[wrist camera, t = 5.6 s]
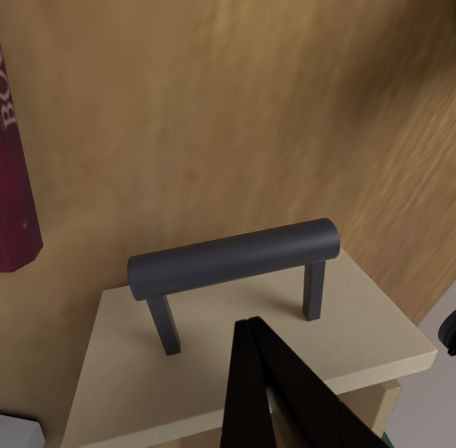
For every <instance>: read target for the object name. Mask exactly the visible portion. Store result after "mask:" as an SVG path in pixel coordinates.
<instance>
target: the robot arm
mask: <svg viewBox="0 0 456 448" xmlns="http://www.w3.org/2000/svg"><path fill="white" fill-rule="evenodd" d="M447 353H448V354H449V355H450V356H456V335H455V337H454V339H453V341H452V343H451V345H450V347H449V349H448V351H447ZM269 406H270V408H271V411H272V414H273V416H274V419H275V421H276V424H277V427H278V429H279V432H280V434H281V437H282V440H283V442H284V445H285V447H286V448H391V447H390V446H389V445H388V444H386V443H385V442H384V441H383V440H382V439H381V438H380V437H379V436H378V435H376V434H375V433H374V432H373V431H372V430H371V429H370V428H369V427H368V426H367V425H366V424H365V423H364V422H363V421H362V420H361V419H360V418H359V417H358V416H356V415H355V414H354V413H353V412H352V411H351V409H350V408H349V407H348V406H347V405H346V404H345V403H344V402H343V401H340V399H339V397H338V396H337V395H336V394H335V393H334V392H333V391H332V390H331V389H330V388H329V387H328V386H327V385H326V384H325V383H324V382H323V381H322V380H321V379H320V378H319V377H318V376H317V375H316V374H315V373H314V371H313V370H312V369H311V368H310V367H309V366H308V365H307V364H306V363H305V362H304V361H303V360H302V359H301V358H300V357H299V356H298V355H297V354H296V353H295V352H294V351H293V350H292V349H291V348H290V347H289V346H288V345H287V344H286V343H285V342H284V341H283V340H282V338H281V337H280V336H279V335H278V334H277V333H276V332H275V331H274V330H273V329H272V328H271V327H270V326H269V325H268V324H267V323H266V322H265V321H264V320H263V319H262V318H261V317H260V316H254V317H250V318H248V319H241V320H237V321H235V324H234V332H233V341H232V349H231V357H230V365H229V374H228V382H227V390H226V398H225V407H224V415H223V423H222V431H221V432H222V434H221V438H220V446H219V448H277V446H276V441H275V435H274V430H273V424H272V419H271V414H270V408H269Z"/></svg>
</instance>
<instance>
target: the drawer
mask: <svg viewBox="0 0 456 448" xmlns="http://www.w3.org/2000/svg"><path fill="white" fill-rule="evenodd" d="M127 273H128V281H129V285H128V286H123V287H118V288H114V289H109V290H104V291H103V292H102V296H101V300H100V303H99V307H98V311H97V315H96V318H95V322H94V326H93V329H92V333H91V337H90V341H89V344H88V348H87V352H86V355H85V359H84V363H83V367H82V370H81V374H80V378H79V382H78V385H77V389H76V393H75V396H74V400H73V404H72V408H71V411H70V415H69V419H68V422H67V426H66V430H65V434H64V437H63V441H62V445H61V448H219V446H220V438H221V434H222V432H221V431H222V423H223V415H224V407H225V398H226V390H227V382H228V374H229V365H230V357H231V349H232V341H233V332H234V324H235V321H237V320H241V319H248V318H250V317H254V316H260V317H261V318H262V319H263V320H264V321H265V322H266V323H267V324H268V325H269V326H270V327H271V328H272V329H273V330H274V331H275V332H276V333H277V334H278V335H279V336H280V337H281V338H282V340H283V341H284V342H285V343H286V344H287V345H288V346H289V347H290V348H291V349H292V350H293V351H294V352H295V353H296V354H297V355H298V356H299V357H300V358H301V359H302V360H303V361H304V362H305V363H306V364H307V365H308V366H309V367H310V368H311V369H312V370H313V371H314V373H315V374H316V375H317V376H318V377H319V378H320V379H321V380H322V381H323V382H324V383H325V384H326V385H327V386H328V387H329V388H330V389H331V390H332V391H333V392H334V393H335V394H336V395H337V396H338V397H339V399H340V401H343V402H344V403H345V404H346V405H347V406H348V407H349V408H350V409H351V411H352V412H353V413H354V414H355V415H356V416H358V417H359V418H360V419H361V420H362V421H363V422H364V423H365V424H366V425H367V426H368V427H369V428H370V429H371V430H372V431H373V432H374V433H375V434H376V435H378V436H379V437H380V438H382V435H383V433H384V430H385V427H386V425H387V423H388V420H389V418H390V416H391V413H392V411H393V408H394V406H395V403H396V401H397V398H398V396H399V394H400V391H401V388H402V386H401V385H400V383H399V382H398V380H397V379H396V378H399V377H402V376H406V375H410V374H414V373H417V372H421V371H424V370H428V369H430V368H431V366H432V364H433V362H434V359H435V357H436V355H437V353H438V350H437V349H436V348H435V346H434V345H433V344H432V343H431V342H430V341H429V340H428V339H427V338H426V337H425V336H424V335H423V334H422V333H421V332H420V331H419V329H418V328H417V327H416V326H415V325H414V324H413V323H412V322H411V321H410V320H409V319H408V318H407V317H406V316H405V315H404V314H403V312H402V311H401V310H400V309H399V308H398V307H397V306H396V305H395V304H394V303H393V302H392V301H391V300H390V299H389V298H388V297H387V295H386V294H385V293H384V292H383V291H382V290H381V289H380V288H379V287H378V286H377V285H376V284H375V283H374V282H373V281H372V280H371V279H370V277H369V276H368V275H367V274H366V273H365V272H364V271H363V270H362V269H361V268H360V267H359V266H358V265H357V264H356V263H355V262H354V260H353V259H352V258H351V257H350V256H349V255H348V254H347V253H346V252H345V251H344V250H343V249H342V248H341V247H340V239H339V235H338V232H337V229H336V227H335V225H334V224H333V223H332V221H331V220H329V219H327V218H321V219H316V220H311V221H306V222H301V223H296V224H291V225H286V226H281V227H276V228H271V229H266V230H261V231H256V232H251V233H246V234H241V235H236V236H231V237H226V238H221V239H216V240H211V241H206V242H201V243H196V244H191V245H186V246H181V247H176V248H171V249H166V250H161V251H156V252H151V253H146V254H141V255H136V256H132V257H130V258H129V260H128V265H127ZM269 408H270V406H269ZM270 414H271V419H272V424H273V430H274V435H275V441H276V446H277V448H286V447H285V445H284V442H283V440H282V437H281V434H280V432H279V429H278V427H277V424H276V421H275V419H274V416H273V414H272V411H271V408H270Z"/></svg>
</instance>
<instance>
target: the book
mask: <svg viewBox="0 0 456 448" xmlns="http://www.w3.org/2000/svg"><path fill="white" fill-rule="evenodd" d="M42 247H43V242H42V238H41V233H40V228H39V224H38V219H37V214H36V210H35V205H34V200H33V196H32V191H31V186H30V181H29V177H28V172H27V167H26V163H25V158H24V153H23V149H22V144H21V139H20V134H19V130H18V125H17V120H16V116H15V111H14V106H13V102H12V97H11V92H10V87H9V83H8V78H7V73H6V69H5V64H4V59H3V55H2V50H1V45H0V273H1V272H14V271H16V270H18V269H19V268H21V267H23V266H25V265H27V264H28V263H30V262H32V261H34V260H35V259H36V257H37V255H38V254H39V252H40V250H41V249H42Z"/></svg>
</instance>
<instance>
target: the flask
mask: <svg viewBox="0 0 456 448" xmlns="http://www.w3.org/2000/svg"><path fill="white" fill-rule="evenodd" d="M45 442H46V441H45V439H44V436H43V433H42V430H41V427H40V424H39V422H34V421H29V420H24V419H19V418H14V417H9V416H4V415H0V448H42V446H43V445H44V443H45Z"/></svg>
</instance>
